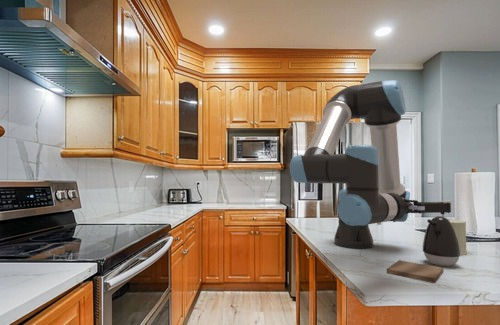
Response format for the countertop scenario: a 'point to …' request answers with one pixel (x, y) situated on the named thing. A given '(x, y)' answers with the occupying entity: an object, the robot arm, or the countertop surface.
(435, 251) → the pump dispenser
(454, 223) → the can
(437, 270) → the walnut board
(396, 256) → the countertop surface
